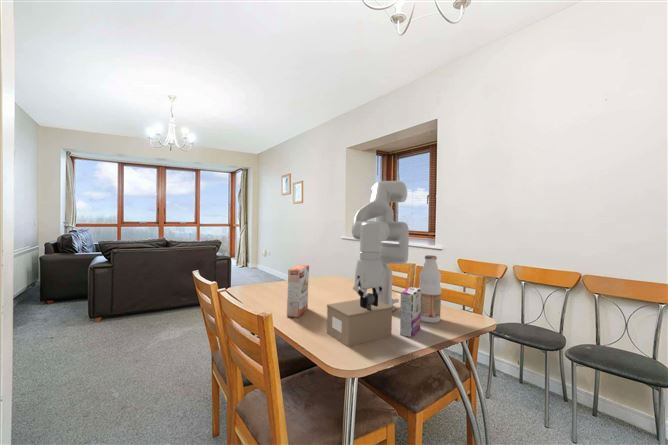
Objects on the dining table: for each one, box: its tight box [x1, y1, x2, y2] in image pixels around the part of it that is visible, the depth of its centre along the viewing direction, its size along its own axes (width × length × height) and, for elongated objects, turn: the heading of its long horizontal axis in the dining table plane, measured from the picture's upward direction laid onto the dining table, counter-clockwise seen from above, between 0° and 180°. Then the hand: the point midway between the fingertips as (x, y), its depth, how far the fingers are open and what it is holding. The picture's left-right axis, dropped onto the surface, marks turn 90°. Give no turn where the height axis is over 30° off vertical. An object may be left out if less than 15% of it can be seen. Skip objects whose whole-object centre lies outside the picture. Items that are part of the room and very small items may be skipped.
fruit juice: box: [418, 254, 442, 324], centre depth 133 cm, size 9×9×28 cm
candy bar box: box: [399, 286, 422, 338], centre depth 118 cm, size 11×5×16 cm, turn 148°
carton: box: [326, 306, 393, 348], centre depth 115 cm, size 20×14×10 cm
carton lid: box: [326, 292, 393, 318], centre depth 114 cm, size 20×14×7 cm
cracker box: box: [286, 264, 310, 318], centre depth 138 cm, size 14×6×21 cm, turn 168°
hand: (369, 305), depth 110 cm, fingers open, 4 cm apart
